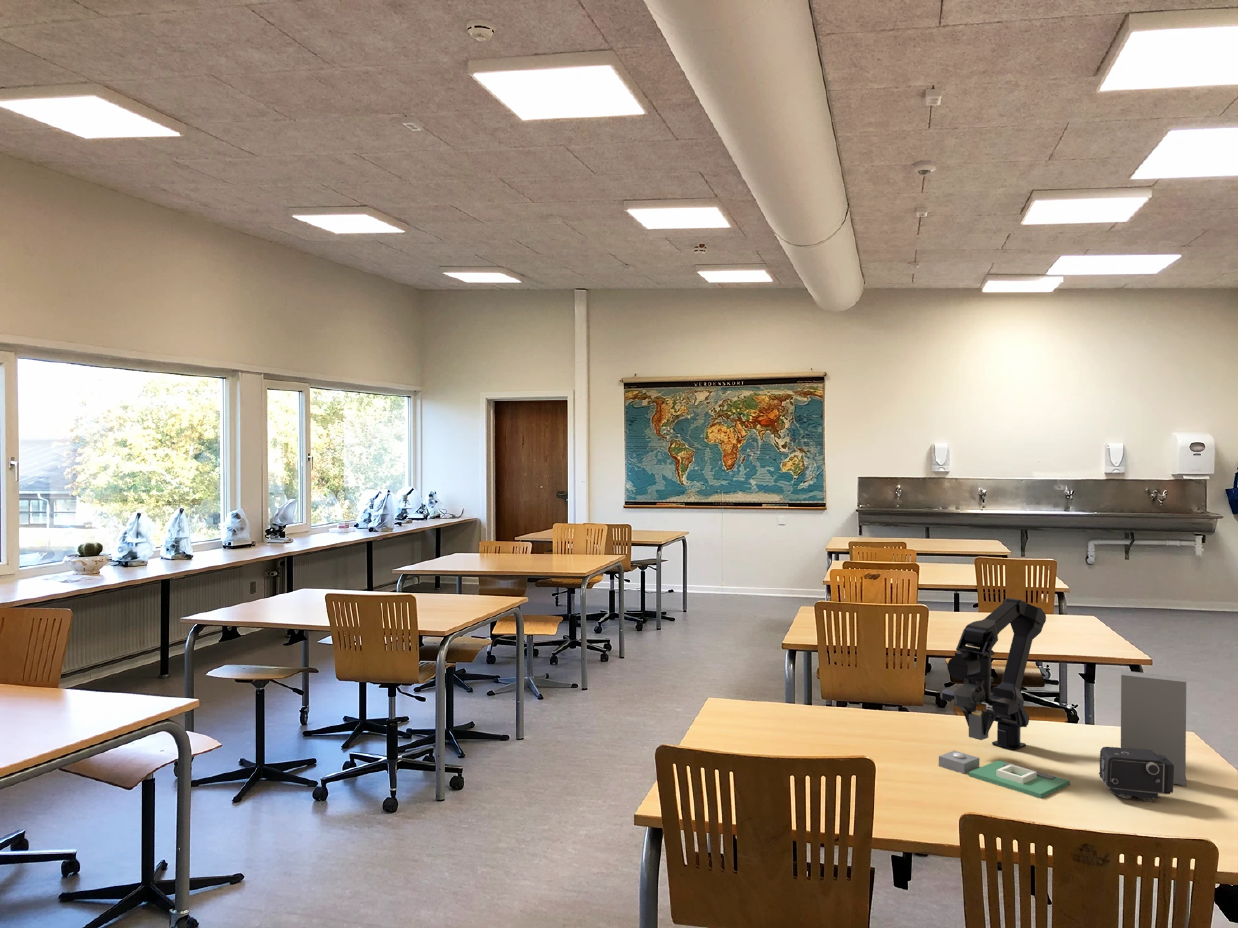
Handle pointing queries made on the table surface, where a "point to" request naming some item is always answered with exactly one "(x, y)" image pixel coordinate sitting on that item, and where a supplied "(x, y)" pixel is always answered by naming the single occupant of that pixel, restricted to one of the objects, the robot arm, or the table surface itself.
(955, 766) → the grey push button
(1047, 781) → the board
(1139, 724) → the upright grey panel
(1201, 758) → the table surface
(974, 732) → the plug
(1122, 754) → the camera
